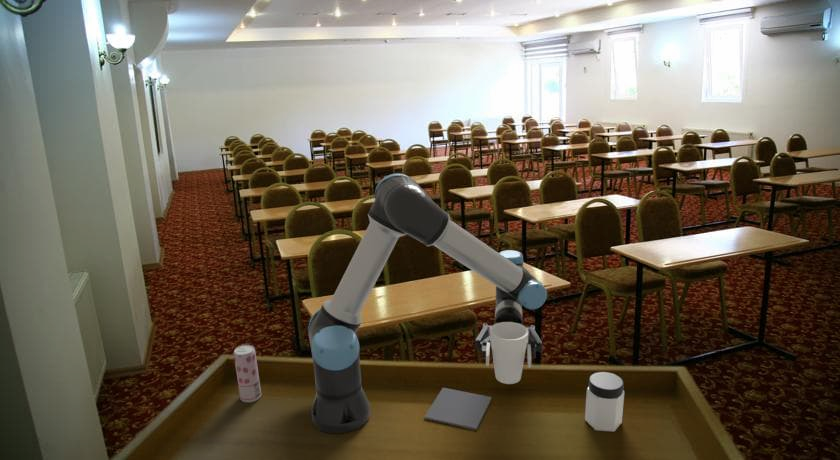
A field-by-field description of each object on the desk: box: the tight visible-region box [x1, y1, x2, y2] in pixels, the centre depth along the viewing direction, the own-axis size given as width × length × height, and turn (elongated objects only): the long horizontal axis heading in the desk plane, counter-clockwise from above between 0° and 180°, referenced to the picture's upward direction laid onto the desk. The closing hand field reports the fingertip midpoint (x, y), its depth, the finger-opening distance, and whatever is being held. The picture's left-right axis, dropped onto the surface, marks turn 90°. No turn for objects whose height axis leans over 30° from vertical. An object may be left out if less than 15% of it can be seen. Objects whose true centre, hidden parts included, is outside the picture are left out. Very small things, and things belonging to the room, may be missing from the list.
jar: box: [584, 371, 625, 432], centre depth 152 cm, size 9×8×12 cm
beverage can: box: [233, 344, 262, 403], centre depth 167 cm, size 6×6×15 cm
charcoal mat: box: [423, 387, 493, 431], centre depth 161 cm, size 14×14×1 cm
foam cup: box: [489, 322, 529, 385], centre depth 151 cm, size 10×9×13 cm
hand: (508, 361), depth 147 cm, fingers closed on foam cup, 9 cm apart
